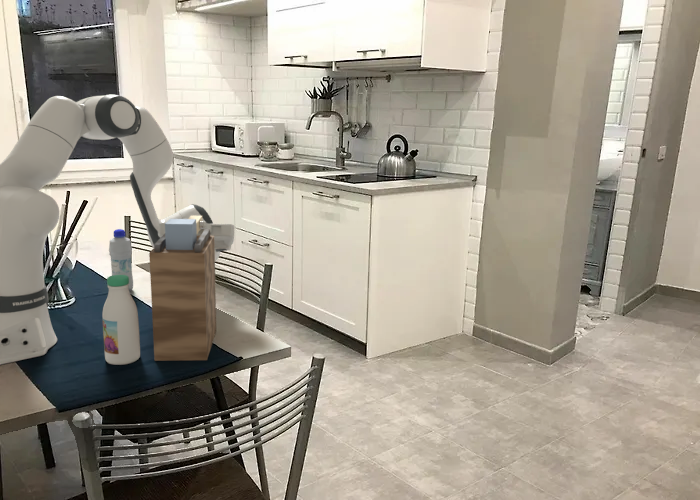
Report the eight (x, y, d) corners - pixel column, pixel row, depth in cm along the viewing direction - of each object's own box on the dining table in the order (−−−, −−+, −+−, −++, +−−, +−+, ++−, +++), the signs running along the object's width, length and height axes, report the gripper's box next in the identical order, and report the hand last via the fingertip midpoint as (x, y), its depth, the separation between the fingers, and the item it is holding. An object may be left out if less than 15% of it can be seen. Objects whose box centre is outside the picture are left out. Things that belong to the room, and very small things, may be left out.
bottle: (107, 291, 182) (103, 229, 178) (127, 286, 187) (124, 226, 183) (118, 296, 178) (114, 232, 173) (138, 291, 183) (135, 229, 178)
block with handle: (192, 249, 133) (192, 224, 132) (165, 249, 132) (164, 223, 131) (208, 226, 158) (207, 204, 157) (185, 226, 157) (184, 204, 156)
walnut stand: (206, 360, 137) (204, 245, 130) (154, 360, 135) (148, 244, 129) (216, 331, 154) (214, 228, 147) (169, 331, 153) (165, 228, 146)
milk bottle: (138, 349, 141) (133, 270, 136) (142, 362, 134) (138, 279, 129) (103, 354, 137) (97, 274, 133) (106, 368, 131) (100, 283, 126)
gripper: (163, 228, 165) (153, 211, 152) (237, 229, 167) (232, 213, 154) (162, 249, 163) (151, 234, 150) (236, 250, 165) (231, 235, 152)
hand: (193, 223), depth 152 cm, fingers open, 3 cm apart
